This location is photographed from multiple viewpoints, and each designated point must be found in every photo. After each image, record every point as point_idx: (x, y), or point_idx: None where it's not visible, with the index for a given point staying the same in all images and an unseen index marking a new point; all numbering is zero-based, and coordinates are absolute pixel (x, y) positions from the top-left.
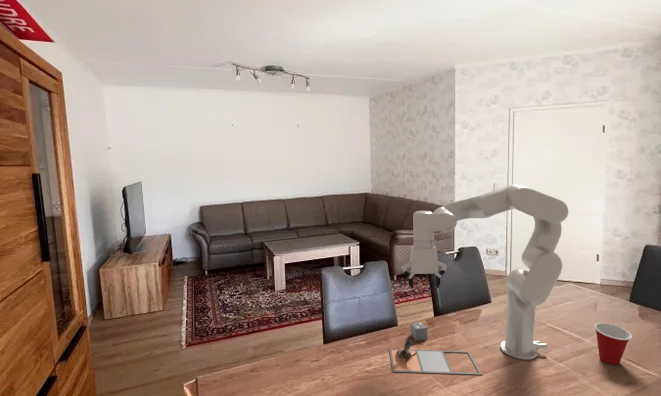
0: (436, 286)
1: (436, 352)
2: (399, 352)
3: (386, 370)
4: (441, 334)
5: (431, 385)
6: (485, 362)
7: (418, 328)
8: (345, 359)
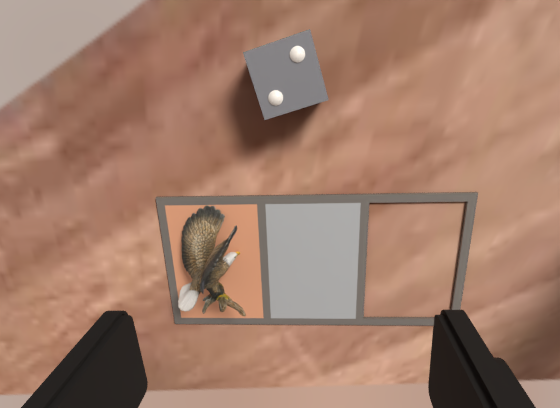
0: (432, 379)
1: (339, 210)
2: (183, 305)
3: (155, 314)
4: (407, 38)
5: (284, 370)
6: (506, 256)
7: (278, 112)
8: (15, 265)
